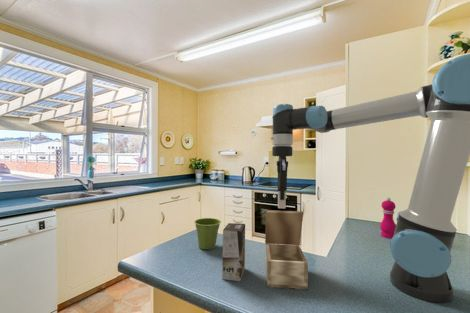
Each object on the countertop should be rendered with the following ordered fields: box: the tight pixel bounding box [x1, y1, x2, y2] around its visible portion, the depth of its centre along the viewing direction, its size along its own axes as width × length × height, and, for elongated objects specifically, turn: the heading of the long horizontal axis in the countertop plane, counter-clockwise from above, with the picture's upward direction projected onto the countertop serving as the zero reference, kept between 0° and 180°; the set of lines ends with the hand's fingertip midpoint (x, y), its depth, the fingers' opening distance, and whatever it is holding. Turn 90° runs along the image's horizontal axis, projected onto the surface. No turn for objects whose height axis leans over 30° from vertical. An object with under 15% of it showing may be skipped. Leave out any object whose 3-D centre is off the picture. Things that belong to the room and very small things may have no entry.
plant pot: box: [193, 217, 222, 250], centre depth 101 cm, size 12×12×11 cm
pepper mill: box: [379, 197, 396, 240], centre depth 117 cm, size 7×7×20 cm
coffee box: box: [221, 222, 246, 282], centre depth 78 cm, size 9×6×16 cm
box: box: [265, 244, 309, 290], centre depth 77 cm, size 12×14×8 cm
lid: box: [264, 209, 304, 246], centre depth 81 cm, size 12×14×1 cm
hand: (281, 207), depth 87 cm, fingers closed
